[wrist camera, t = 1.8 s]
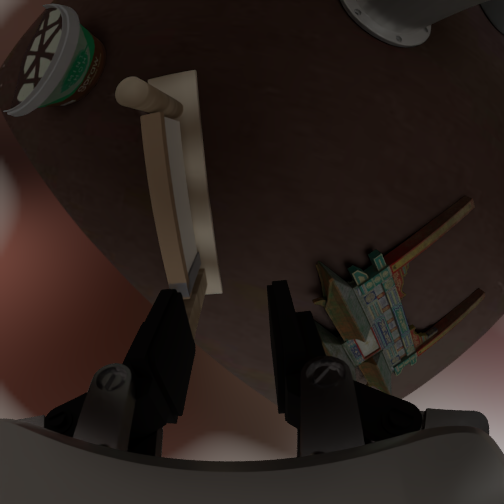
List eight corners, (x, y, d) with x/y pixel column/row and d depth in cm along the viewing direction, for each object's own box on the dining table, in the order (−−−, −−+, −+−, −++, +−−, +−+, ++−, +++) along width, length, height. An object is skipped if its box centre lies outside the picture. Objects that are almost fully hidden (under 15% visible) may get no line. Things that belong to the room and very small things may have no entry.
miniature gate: (490, 317, 32) (353, 420, 36) (472, 302, 37) (343, 397, 41) (474, 173, 23) (269, 317, 27) (447, 167, 28) (263, 291, 32)
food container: (95, 121, 24) (39, 119, 15) (58, 117, 23) (2, 117, 14) (130, 25, 20) (90, -10, 10) (90, 26, 19) (45, 0, 9)
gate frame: (150, 81, 23) (95, 51, 12) (196, 71, 23) (164, 28, 12) (181, 292, 32) (156, 360, 21) (222, 289, 32) (212, 360, 21)
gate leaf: (165, 122, 23) (140, 116, 17) (181, 119, 23) (160, 111, 17) (187, 266, 29) (172, 299, 23) (201, 265, 29) (190, 298, 23)
